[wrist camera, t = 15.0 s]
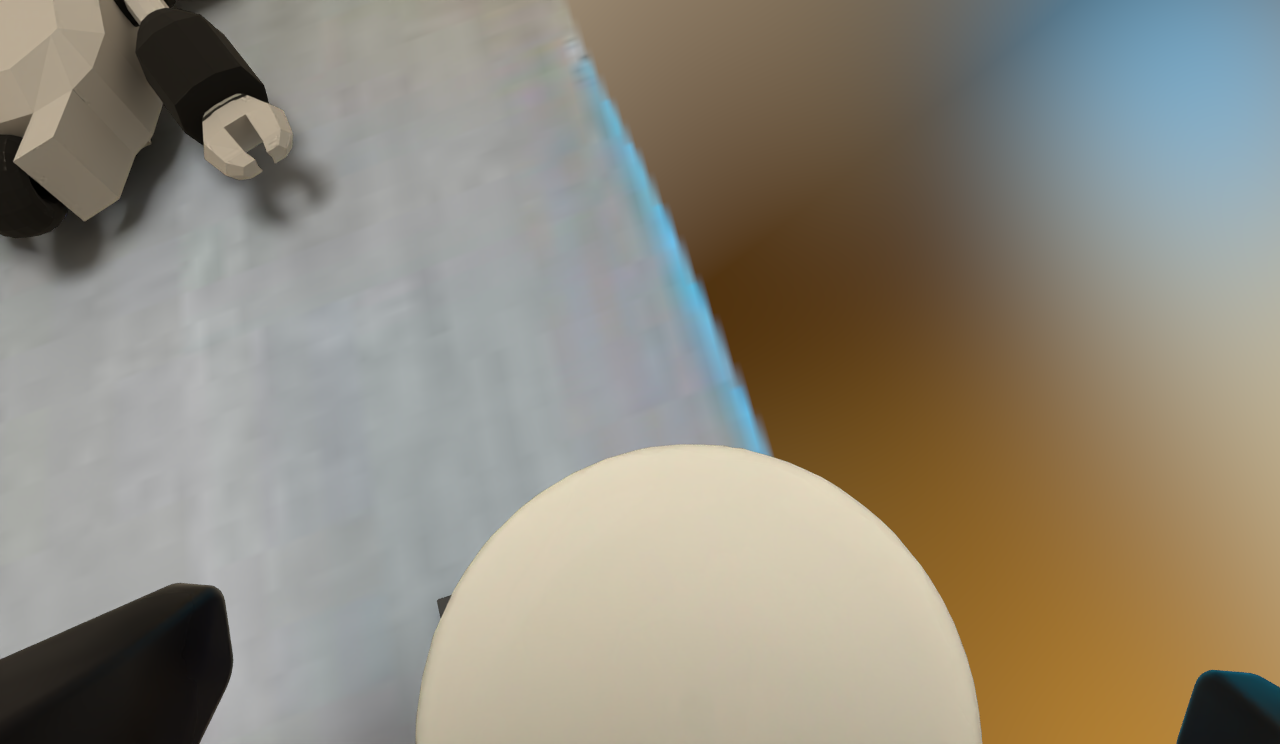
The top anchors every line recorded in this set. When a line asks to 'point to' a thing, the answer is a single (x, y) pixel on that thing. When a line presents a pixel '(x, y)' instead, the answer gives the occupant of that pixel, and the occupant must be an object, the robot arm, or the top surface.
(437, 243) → the top surface
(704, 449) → the pill bottle
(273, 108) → the robot toy
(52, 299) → the top surface
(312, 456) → the top surface
